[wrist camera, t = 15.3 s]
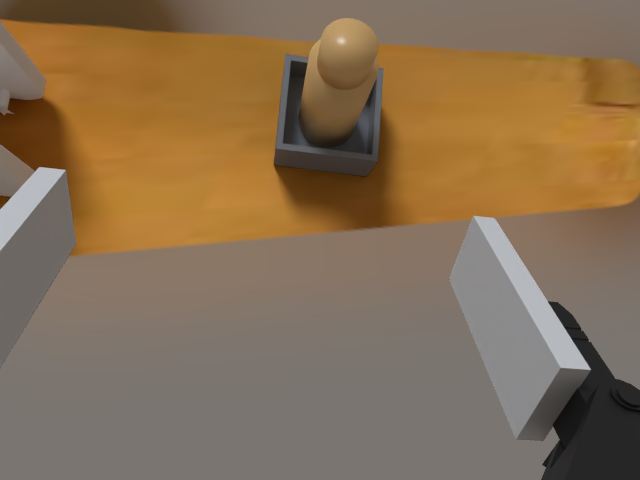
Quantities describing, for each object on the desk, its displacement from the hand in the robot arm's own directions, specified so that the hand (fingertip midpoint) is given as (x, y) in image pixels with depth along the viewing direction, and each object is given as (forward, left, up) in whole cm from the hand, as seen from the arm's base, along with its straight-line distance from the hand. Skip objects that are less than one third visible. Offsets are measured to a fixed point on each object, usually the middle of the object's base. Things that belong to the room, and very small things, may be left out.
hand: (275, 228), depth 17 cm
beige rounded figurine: (+4, +15, -24) cm, 29 cm away
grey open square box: (+4, +16, -26) cm, 31 cm away
